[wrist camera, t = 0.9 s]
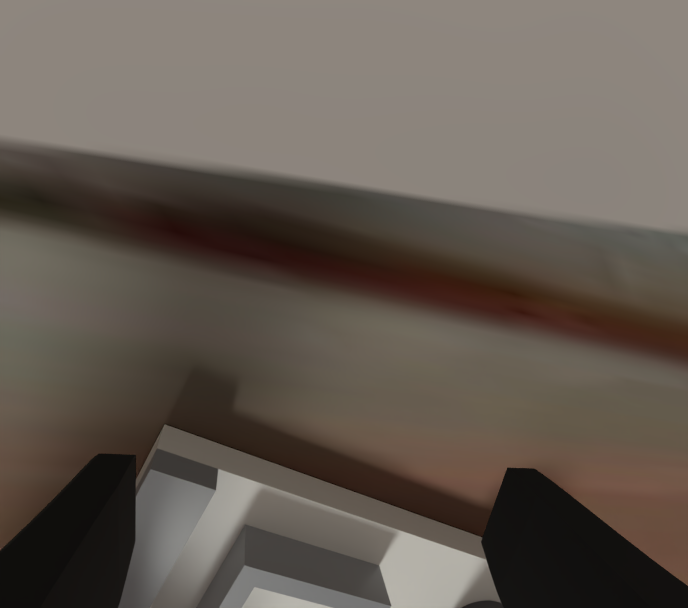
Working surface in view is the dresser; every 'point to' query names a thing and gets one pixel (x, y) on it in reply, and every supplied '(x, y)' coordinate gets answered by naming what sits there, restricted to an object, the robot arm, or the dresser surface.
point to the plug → (484, 604)
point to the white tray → (284, 540)
